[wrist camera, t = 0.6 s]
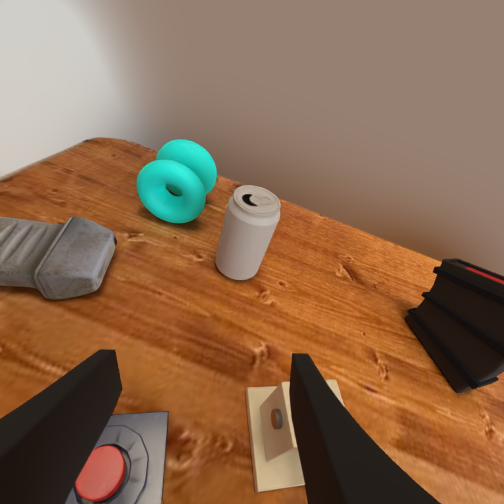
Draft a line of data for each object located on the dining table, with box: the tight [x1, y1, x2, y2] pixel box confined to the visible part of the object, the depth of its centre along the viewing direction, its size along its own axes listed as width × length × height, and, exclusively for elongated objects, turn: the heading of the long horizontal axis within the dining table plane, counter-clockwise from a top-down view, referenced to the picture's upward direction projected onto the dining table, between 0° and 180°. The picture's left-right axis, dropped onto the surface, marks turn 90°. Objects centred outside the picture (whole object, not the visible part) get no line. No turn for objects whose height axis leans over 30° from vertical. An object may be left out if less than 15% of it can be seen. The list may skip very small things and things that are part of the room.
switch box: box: [245, 380, 344, 492], centre depth 24 cm, size 8×7×8 cm
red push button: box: [75, 445, 126, 502], centre depth 18 cm, size 3×3×2 cm
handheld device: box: [0, 217, 117, 299], centre depth 30 cm, size 10×20×5 cm, turn 93°
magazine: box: [405, 259, 504, 393], centre depth 35 cm, size 4×13×15 cm, turn 16°
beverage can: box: [215, 185, 281, 280], centre depth 36 cm, size 6×6×12 cm
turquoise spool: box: [137, 139, 217, 223], centre depth 42 cm, size 10×10×10 cm
